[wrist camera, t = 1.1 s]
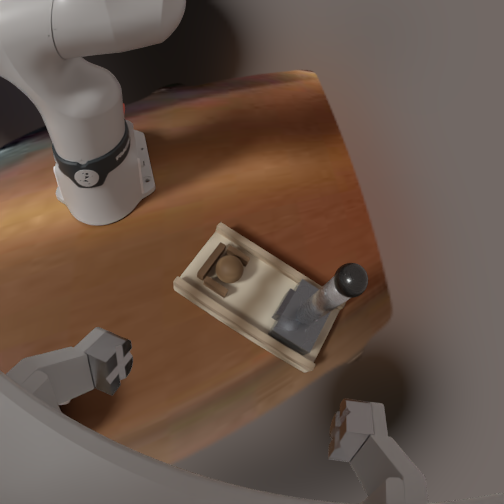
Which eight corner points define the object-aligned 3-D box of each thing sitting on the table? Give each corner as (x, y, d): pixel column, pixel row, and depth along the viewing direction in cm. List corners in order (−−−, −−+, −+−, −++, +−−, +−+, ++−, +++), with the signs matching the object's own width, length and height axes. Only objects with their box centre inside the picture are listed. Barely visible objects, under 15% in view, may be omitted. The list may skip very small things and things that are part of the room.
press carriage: (328, 305, 48) (393, 256, 32) (302, 355, 44) (367, 326, 28) (291, 282, 48) (343, 221, 33) (262, 331, 44) (308, 289, 28)
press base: (336, 308, 50) (347, 301, 47) (304, 372, 45) (313, 369, 41) (217, 233, 52) (220, 221, 49) (174, 289, 47) (173, 280, 43)
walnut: (212, 263, 48) (215, 251, 44) (239, 261, 48) (243, 249, 45) (215, 288, 46) (218, 278, 42) (242, 286, 47) (248, 276, 43)
